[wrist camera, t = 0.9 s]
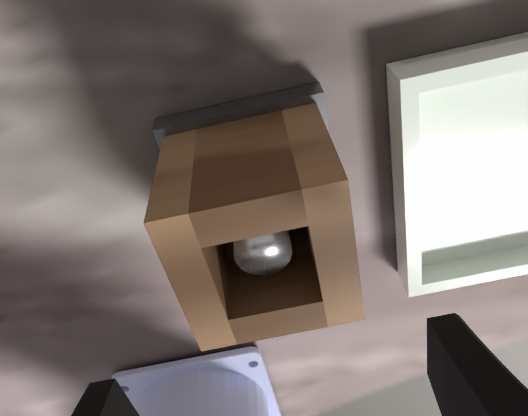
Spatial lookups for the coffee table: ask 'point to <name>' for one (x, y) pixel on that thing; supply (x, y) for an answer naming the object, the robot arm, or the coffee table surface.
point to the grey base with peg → (266, 246)
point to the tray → (460, 164)
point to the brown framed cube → (256, 227)
